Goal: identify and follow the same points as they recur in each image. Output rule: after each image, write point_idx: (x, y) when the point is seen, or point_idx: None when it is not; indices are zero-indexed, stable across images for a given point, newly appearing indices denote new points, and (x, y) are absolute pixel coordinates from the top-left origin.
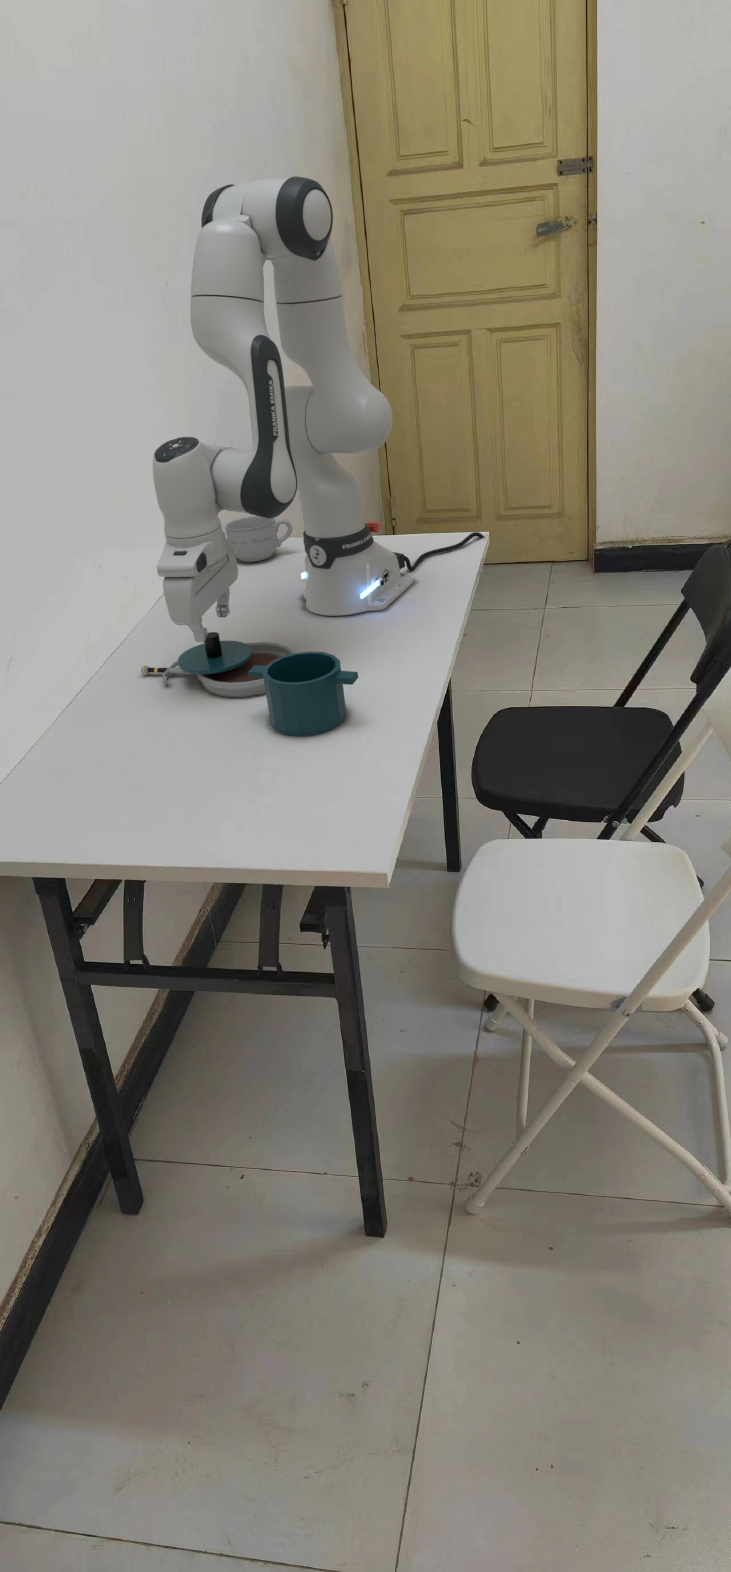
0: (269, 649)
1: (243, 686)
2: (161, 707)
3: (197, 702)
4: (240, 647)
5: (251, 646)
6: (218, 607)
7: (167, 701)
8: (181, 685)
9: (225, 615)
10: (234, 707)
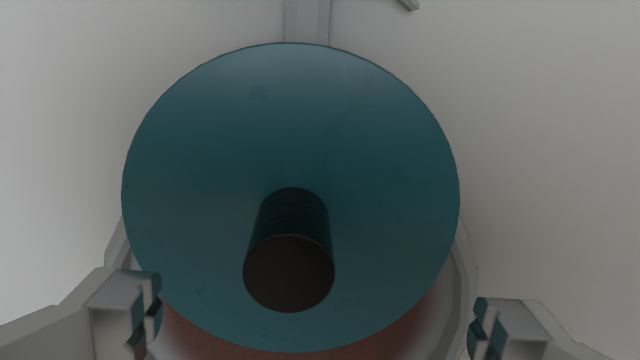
0: (446, 331)
1: None
2: (9, 41)
3: (80, 172)
4: (370, 301)
5: (459, 284)
6: (507, 356)
7: (65, 48)
8: (214, 57)
9: (469, 348)
10: None
